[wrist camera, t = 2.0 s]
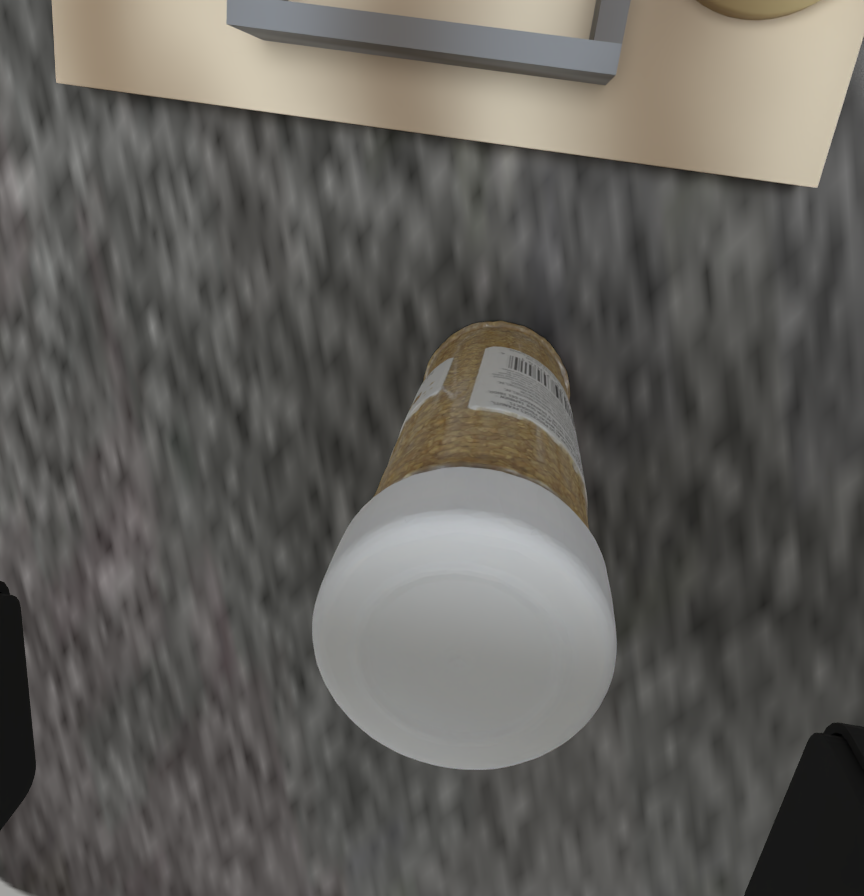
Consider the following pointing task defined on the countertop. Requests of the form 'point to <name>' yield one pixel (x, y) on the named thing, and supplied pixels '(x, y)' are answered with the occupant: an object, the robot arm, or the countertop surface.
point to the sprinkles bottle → (473, 569)
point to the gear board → (501, 70)
